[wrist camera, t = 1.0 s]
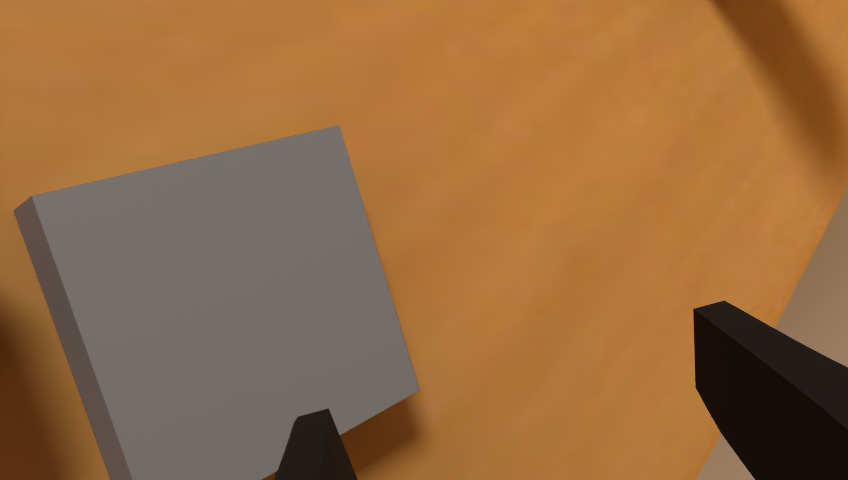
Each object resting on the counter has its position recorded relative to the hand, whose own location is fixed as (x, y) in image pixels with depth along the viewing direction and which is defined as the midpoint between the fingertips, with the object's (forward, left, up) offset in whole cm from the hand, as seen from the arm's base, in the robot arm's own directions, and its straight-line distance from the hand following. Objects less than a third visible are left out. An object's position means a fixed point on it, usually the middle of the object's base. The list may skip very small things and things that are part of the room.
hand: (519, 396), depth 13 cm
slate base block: (0, +2, -14) cm, 14 cm away
